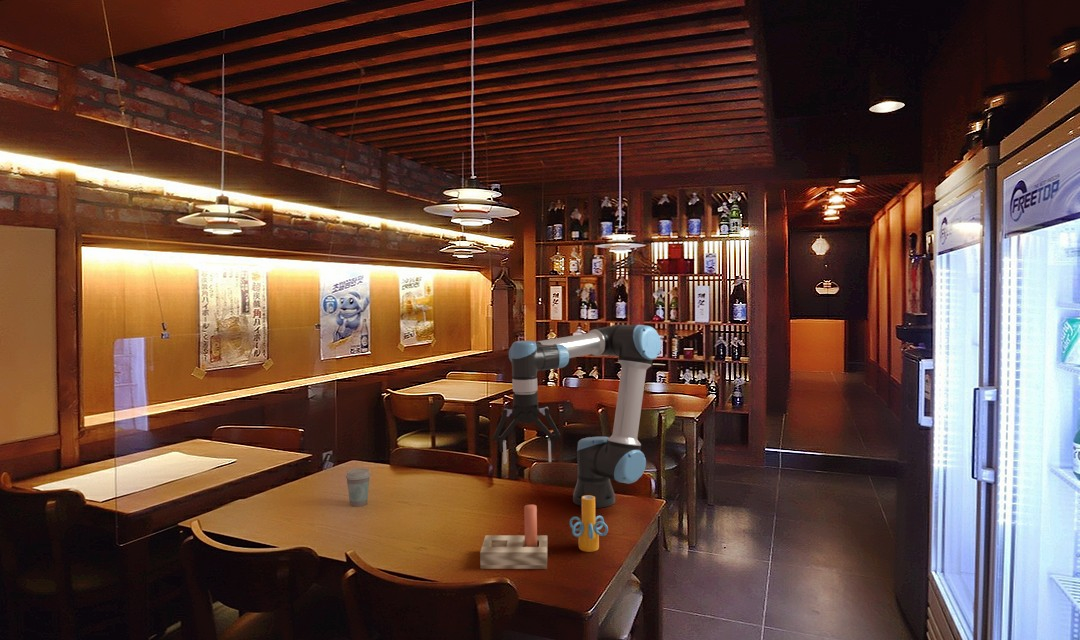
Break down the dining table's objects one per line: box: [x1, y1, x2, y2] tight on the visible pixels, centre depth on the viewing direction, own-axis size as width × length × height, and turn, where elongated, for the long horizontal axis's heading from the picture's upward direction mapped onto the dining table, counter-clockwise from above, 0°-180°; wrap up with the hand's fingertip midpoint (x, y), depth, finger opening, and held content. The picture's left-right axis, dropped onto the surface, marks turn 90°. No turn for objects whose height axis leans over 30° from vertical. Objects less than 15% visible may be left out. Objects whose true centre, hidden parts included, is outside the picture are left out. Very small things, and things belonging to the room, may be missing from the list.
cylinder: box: [569, 495, 609, 553], centre depth 178 cm, size 12×10×15 cm
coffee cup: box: [345, 467, 371, 508], centre depth 220 cm, size 8×8×12 cm
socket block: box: [479, 534, 549, 570], centre depth 171 cm, size 18×12×4 cm, turn 88°
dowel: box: [523, 504, 538, 547], centre depth 170 cm, size 4×4×14 cm
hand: (527, 461), depth 184 cm, fingers open, 13 cm apart
